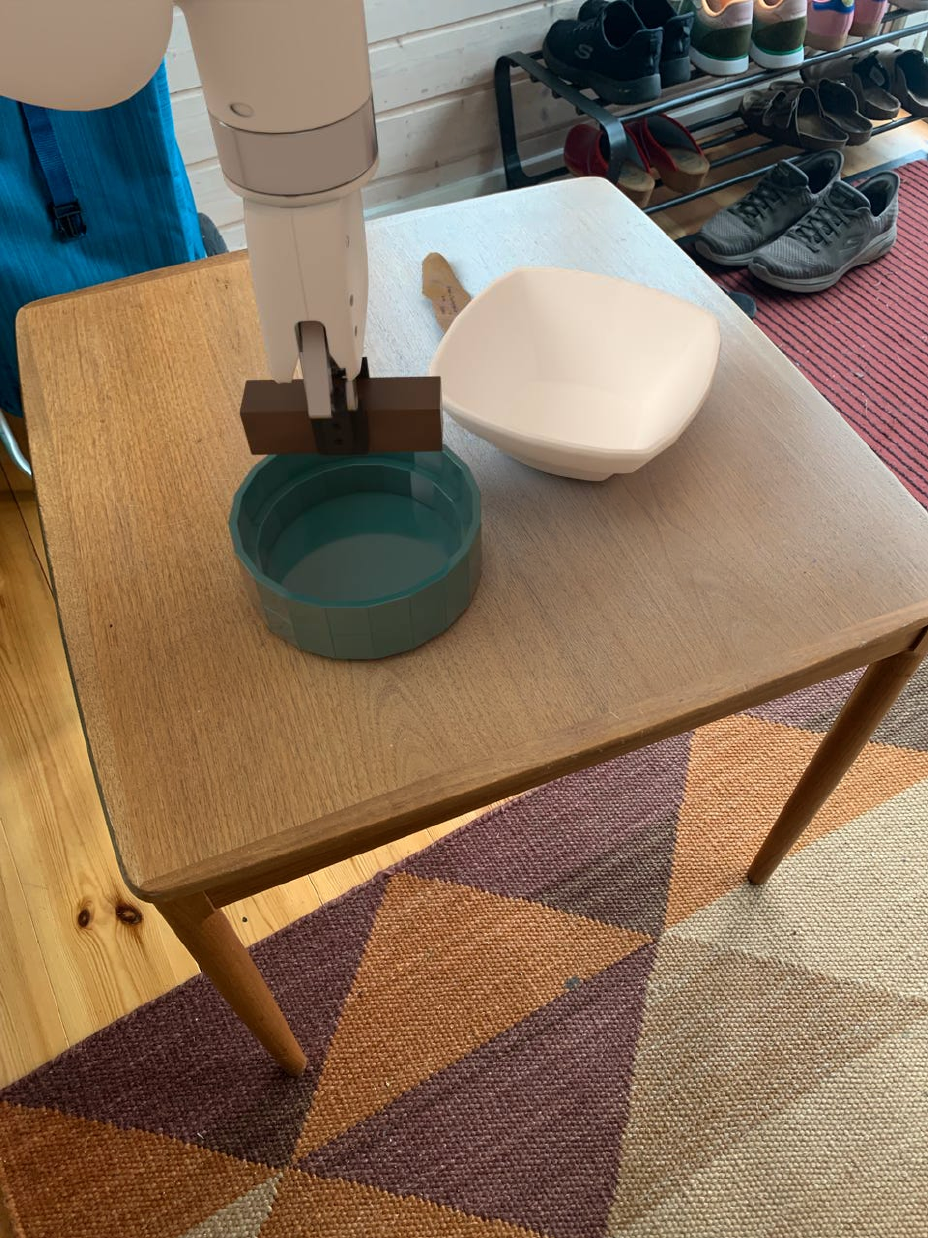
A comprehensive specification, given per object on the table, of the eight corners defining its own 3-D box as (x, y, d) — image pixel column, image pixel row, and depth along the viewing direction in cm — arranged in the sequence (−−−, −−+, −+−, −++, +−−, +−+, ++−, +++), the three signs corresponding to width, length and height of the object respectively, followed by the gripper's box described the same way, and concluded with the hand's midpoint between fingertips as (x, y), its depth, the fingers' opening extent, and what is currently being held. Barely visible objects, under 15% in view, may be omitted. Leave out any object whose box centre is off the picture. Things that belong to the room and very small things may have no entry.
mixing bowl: (232, 665, 64) (210, 608, 58) (265, 485, 74) (248, 423, 69) (482, 663, 63) (482, 606, 58) (480, 483, 74) (479, 421, 68)
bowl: (401, 480, 74) (392, 396, 67) (503, 333, 85) (506, 248, 78) (648, 562, 68) (667, 480, 62) (724, 394, 79) (747, 308, 73)
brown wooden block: (251, 455, 58) (238, 412, 55) (257, 422, 59) (245, 379, 57) (442, 451, 57) (440, 408, 55) (443, 419, 59) (440, 375, 56)
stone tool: (403, 262, 91) (441, 353, 82) (407, 247, 90) (445, 338, 81) (452, 267, 93) (495, 356, 84) (456, 252, 92) (499, 341, 83)
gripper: (241, 58, 48) (300, 349, 63) (186, 235, 38) (271, 529, 53) (385, 55, 48) (410, 347, 63) (365, 230, 38) (400, 527, 53)
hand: (346, 428), depth 58 cm, fingers closed on brown wooden block, 3 cm apart
